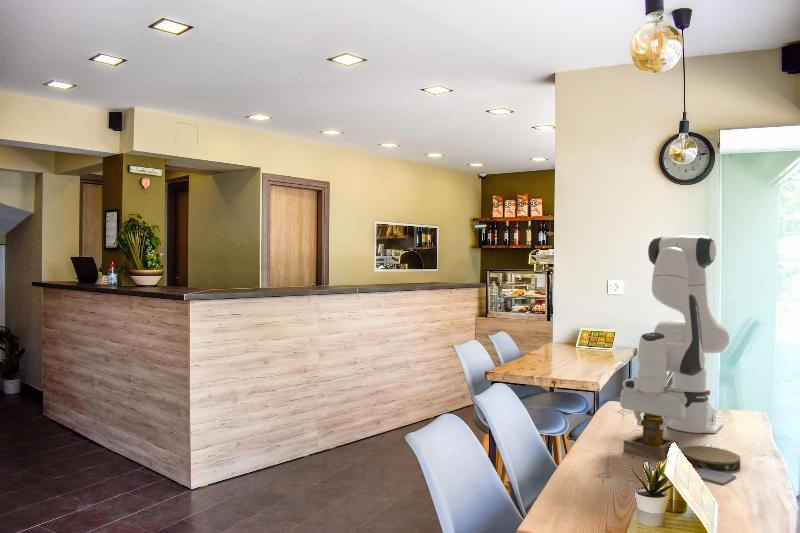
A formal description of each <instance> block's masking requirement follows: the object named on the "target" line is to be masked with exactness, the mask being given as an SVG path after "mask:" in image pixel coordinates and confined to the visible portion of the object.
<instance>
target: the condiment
mask: <svg viewBox="0 0 800 533" xmlns="http://www.w3.org/2000/svg"><path fill="white" fill-rule="evenodd" d="M643 414H644V415H643V416H642V419H643V426H642V434H643V442H642V444H646V445H651V446H655V447H658V446H661V445H663V438H664V431H662V430H660V424H663V417H662V416H657V415H652V414H648V413H643Z"/></svg>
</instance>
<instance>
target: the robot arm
mask: <svg viewBox="0 0 800 533" xmlns="http://www.w3.org/2000/svg"><path fill="white" fill-rule="evenodd" d="M647 254H648V260H649V261H650V263H651V264H652V265H653V266H654V267H653V271H652V279H651V280H652V281H651V293H652V295H653V297H654V298H655V299H656V301H658V302H659V303H661V304H662V305H664V306H666V307H668V308H671V309H672V310H675V311H677V312H679V313H681V314H682V315H683V317H684V320H677V319H669V320H667V319H666V320H662V321H659V322H658V323H657V324H656V326H655V327H654V331H653V332H646V333H644V334H642V335H641V336H640V338H639V343H638V350H637V363H638V371H637V377H632V378H628V379H626V380H623V381H622V387H623V388H621V392H620V397H619V398H620V399H619V402H620V403H619V404H620V406H621V408H622V409H624V410H629V411H633V415H634V418H635V419H636V423H637V426H640V427H643V417H642V416H641V414H642V413H643V414H644V413H648V414H652V415H657V416H662V417H663V424H660V430H662V431H663V432H666V431H667V429H668V428H670V429H673V430H676V431H680V432H685V433H695V434H697V433H698V434H703V433H704V434H716V433H717V432H718V431H719V430H720V429H721V428H722V427H723V422H721V421H718V420H717V419H716V418H717V413H716V412H717V411H716V410H717V409H715V407H714V406H713V405H712V404H711V403H710V402H709V396H711V390H710V389H707V371H706V368H705V365H706V364H705V363H706V361H705V360H706V358H705V354H719V353H723V352H724V351H725V350H726V349H727V348H728V347H729V343H730V336H729V332H728V330H727V329H726V328H725V326H723V325H722V324H721V323H719V322H718V321H717V320H716V318H715V317H714V316H713V314H712V312H711V310H710V308H709V303H708V295H707V292H708V291H707V275H706V268H707V267H708V266H710V265H712V263H713V262H714V261H715V258H716V255H717V248H716V243H715V240H713V238H711V237H710V236H706V235H699V236H698V235H697V236H696V235H687V234H686V235H684V234H683V235H679V236H678V235H676V236H674V235H673V236H666V237H664V236H659V237H656V238H653V239H652V240H651V241H650V242H649V245H648V249H647ZM668 372H670V373H672V387H669V386H668ZM667 427H668V428H667Z"/></svg>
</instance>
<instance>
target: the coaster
mask: <svg viewBox="0 0 800 533" xmlns="http://www.w3.org/2000/svg"><path fill="white" fill-rule="evenodd" d="M696 471H697V473H698V474H699V476H700V477H701V478H702V479H703V481H706V482H709V483H714V484H717V485H720V486H721V485H722V486H724V485H726V484H727V483H730V482H731V481H734V479H737V475H734V474H731V473H726V472H720V471H716V470H712V469H708V468H704V467H703V468H701V469H700V468H698V469H697V470H696ZM702 479H701V480H702Z"/></svg>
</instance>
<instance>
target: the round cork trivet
mask: <svg viewBox="0 0 800 533" xmlns="http://www.w3.org/2000/svg"><path fill="white" fill-rule="evenodd" d="M682 453H683V454H684V456H685V457H686V458H687V460H688V461H689V462H690V463H691V464H692V465H693V466H692V467H694V468H696V469H701V468H703V467H704V468H708V469H712V470H716V471H719V472H723V473H726V472H729V473H731V472H735V471H738V470H740V469H741V456H740V455H739V454H737V453H735V452H733V451H730V450H727V449H723V448H719V447H713V446H704V445H691V446H685V447H683V448H682V450H681V454H682Z"/></svg>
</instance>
